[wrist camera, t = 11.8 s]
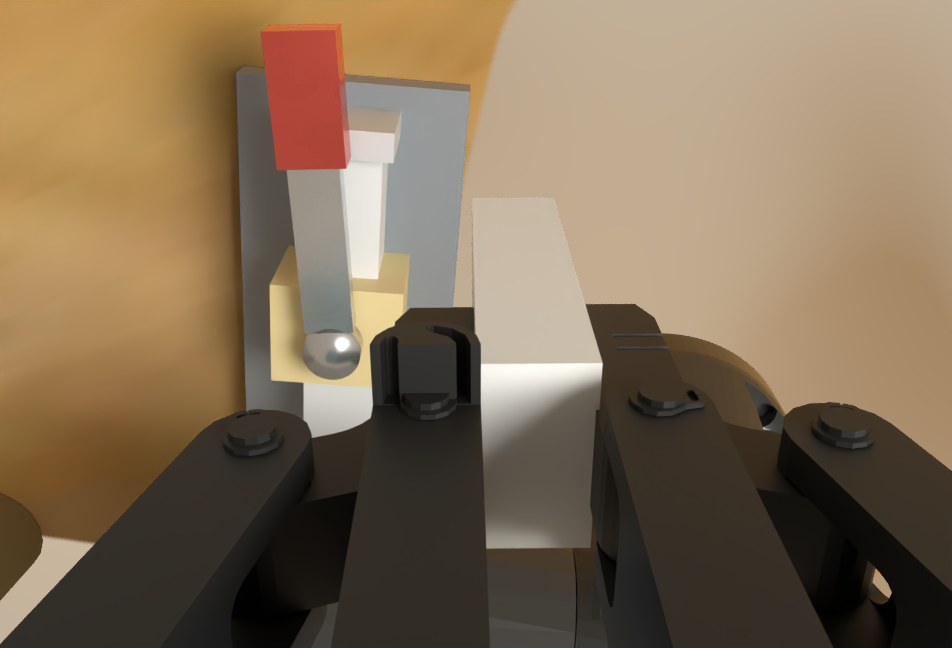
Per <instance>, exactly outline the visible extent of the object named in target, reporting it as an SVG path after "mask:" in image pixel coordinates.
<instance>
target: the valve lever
mask: <svg viewBox="0 0 952 648" xmlns="http://www.w3.org/2000/svg"><path fill="white" fill-rule="evenodd" d="M261 37H262V46H263V54H264V63H265V72H266V80H267V89H268V98H269V106H270V115H271V123H272V132H273V141H274V149H275V158H276V167H277V170H287V178H288V187H289V196H290V205H291V214H292V223H293V232H294V241H295V250H296V259H297V268H298V277H299V286H300V295H301V304H302V313H303V322H304V331H305V334H307V337H306V340H305V342H304V345H303V349H302V356H303V360H304V363H305V365H306V366H307V368H308V369H309V370H310V371H311V372H312V373H313V374H315V375H317V376H318V377H321V378H324V379H328V380H338V379H342V378H345V377H347V376H349V375H350V374H352V373H353V372H354V371H355V370H356V368H357V366H358V364H359V361H360V357H361V352H362V348H363V338H362V335H361V332H360V331H359V329H358V328H357V327H356V325H355V324H356V315H355V303H354V291H353V279H352V267H351V255H350V243H349V231H348V219H347V207H346V195H345V183H344V171H343V169H346V168H347V166H348V164H349V161H350V159H351V149H350V136H349V123H348V111H347V98H346V85H345V72H344V60H343V47H342V34H341V24H298V25H269V26H268V27H266V28H265V29H264V30H262V31H261Z"/></svg>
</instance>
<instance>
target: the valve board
mask: <svg viewBox="0 0 952 648" xmlns="http://www.w3.org/2000/svg"><path fill="white" fill-rule="evenodd" d="M345 85H346V98H347V111H348V123H349V136H350V149H351V159H350V161H349V164H348V166H347V168H346V169H343V171H344V183H345V195H346V207H347V219H348V231H349V243H350V255H351V267H352V279H353V291H354V303H355V315H356V324H355V325H356V327H357V328H358V329H359V331H360V332H361V335H362V338H363V348H362V352H361V357H360V361H359V364H358V366H357V368H356V370H355V371H354V372H353V373H352V374H350V375H349V376H347V377H345V378H342V379H338V380H328V379H324V378H321V377H318V376H317V375H315V374H313V373H312V372H311V371H310V370H309V369H308V368H307V366H306V365H305V363H304V360H303V356H302V349H303V345H304V342H305V340H306V337H307V334H305V331H304V322H303V313H302V304H301V295H300V286H299V277H298V268H297V259H296V250H295V241H294V232H293V223H292V214H291V205H290V196H289V187H288V178H287V170H277V167H276V158H275V149H274V141H273V132H272V123H271V115H270V106H269V98H268V89H267V80H266V72H265V68H261V67H249V66H243V67H242V68H241V69H240V70H238V71H237V72H236V86H237V120H238V153H239V187H240V220H241V254H242V287H243V321H244V354H245V388H246V411H249V410H254V409H262V410H279V411H283V412H287V413H291V414H295V415H296V416H298V417H299V418H301V419H302V420H304V421H305V422H307V424H308V426H309V429H310V431H311V434H312V438H314V437H319V436H324V435H329V434H334V433H337V432H341V431H345V430H348V429H351V428H353V427H355V426H358V425H360V424H362V423H363V422H365V421H366V420H368V419H370V418H371V413H372V407H373V399H372V381H371V363H370V343H371V342H372V340H373V339H374V337H375V335H377V334H379V333H381V332H382V331H384V330H386V329H387V328H390V327H393V326H394V325H395V321H396V320H398V319H399V318H400V317H401V316H402V315H403V314H404V313H405V312H406V311H408V310H409V309H410V308H452V307H453V298H454V286H455V274H456V261H457V249H458V236H459V224H460V211H461V199H462V187H463V174H464V162H465V149H466V137H467V124H468V112H469V100H470V85H465V84H453V83H441V82H429V81H417V80H405V79H393V78H381V77H369V76H357V75H345Z"/></svg>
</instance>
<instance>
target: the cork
mask: <svg viewBox="0 0 952 648" xmlns="http://www.w3.org/2000/svg"><path fill="white" fill-rule="evenodd" d="M42 542H43V539H42V534H41V530H40V527H39V525H38V523H37V522H36V520H35V519H34V517H33V516H32V514H31V513H30V512H29V511H27V510H26V509H25V508H24V507H23V506H22V505H21V504H20V503H18V502H16V501H14V500H13V499H11V498H9V497H7V496H5V495H3V494H0V600H1V599H2V598H3V597H4V596H5V595H6V593H7V592H8V591H9V590H10V589H11V588H12V587H13V586H14V584H15V583H16V582H17V581H18V580H19V579H20V578H21V577H22V576H23V574H24V573H25V572H26V571H27V570H28V569H29V568H30V567H31V565H32V564H33V563H34V562H35V560H36V559H37V558H38V556H39V555H40V553H41V548H42Z"/></svg>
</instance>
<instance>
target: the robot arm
mask: <svg viewBox="0 0 952 648" xmlns="http://www.w3.org/2000/svg"><path fill="white" fill-rule="evenodd" d="M370 363H371V381H372V399H373V407H372V413H371V418H370V419H368V420H366V421H365V422H363V423H362V424H360V425H358V426H355V427H353V428H351V429H348V430H345V431H341V432H337V433H334V434H329V435H324V436H319V437H314V438H312V434H311V431H310V429H309V426H308V424H307V422H305V421H304V420H302V419H301V418H299V417H298V416H296V415H295V414H291V413H287V412H283V411H279V410H262V409H254V410H249V411H241V412H237V413H234V414H232V415H230V416H227V417H225V418H222V419H220V420H217V421H215V422H214V423H212V424H211V425H209V426H208V427H207V428H205V429H204V430H203V431H201V432H200V433H199V434H198V435H197V436H196V438H195V439H194V440H193V441H192V442H191V443H190V444H189V445H188V446H187V447H186V448H185V449H184V450H183V451H182V452H181V453H180V454H179V456H178V457H177V458H176V459H175V460H174V461H173V462H172V463H171V464H170V465H169V466H168V467H167V468H166V469H165V470H164V471H163V472H162V474H161V475H160V476H159V477H158V478H157V479H156V480H155V481H154V482H153V483H152V484H151V485H150V486H149V487H148V488H147V489H146V490H145V491H144V493H143V494H142V495H141V496H140V497H139V498H138V499H137V500H136V501H135V502H134V503H133V504H132V505H131V506H130V507H129V508H128V509H127V511H126V512H125V513H124V514H123V515H122V516H121V517H120V518H119V519H118V520H117V521H116V522H115V523H114V524H113V525H112V526H111V527H110V529H109V530H108V531H107V532H106V533H105V534H104V535H103V536H102V537H101V538H100V539H99V540H98V541H97V542H96V543H95V544H94V545H93V547H92V548H91V549H90V550H89V551H88V552H87V553H86V554H85V555H84V556H83V557H82V558H81V559H80V560H79V561H78V562H77V563H76V565H75V566H74V567H73V568H72V569H71V570H70V571H69V572H68V573H67V574H66V575H65V576H64V578H62V579H61V580H60V581H59V583H58V584H57V585H56V586H55V587H54V588H53V589H52V590H51V591H50V592H49V593H48V594H47V595H46V596H45V597H44V598H43V599H42V601H41V602H40V603H39V604H38V605H37V606H36V607H35V608H34V609H33V610H32V611H31V612H30V613H29V614H28V615H27V616H26V617H25V618H24V620H23V621H22V622H21V623H20V624H19V625H18V626H17V627H16V628H15V629H14V630H13V631H12V632H11V633H10V635H8V637H7V638H6V639H5V640H4V641H3V642H2V643H1V644H0V648H952V471H951V470H950V469H948V468H947V467H946V466H945V465H943V464H942V463H941V462H939V461H938V460H937V459H936V458H934V457H933V456H932V455H931V454H929V453H928V452H927V451H926V450H924V449H923V448H922V447H920V446H919V445H918V444H917V443H915V442H914V441H913V440H912V439H910V438H909V437H908V436H906V435H905V434H904V433H903V432H901V431H900V430H899V429H898V428H896V427H895V426H894V425H892V424H891V423H889V422H888V421H886V420H884V419H882V418H881V417H879V416H877V415H876V414H873V413H871V412H868V411H865V410H861V409H859V408H857V407H856V406H853V405H848V404H843V405H840V403H832V402H827V403H812V404H807V405H804V406H800V407H796V408H793V409H792V410H791V411H790V412H789V413H788V414H787V415H786V414H785V412H784V411H783V409H782V407H781V405H780V403H779V402H778V400H777V398H776V397H775V395H774V393H773V392H772V390H771V389H770V387H769V386H768V384H767V383H766V381H765V380H764V379H763V378H762V377H761V375H760V374H759V373H758V372H757V371H756V370H755V369H754V368H753V367H751V366H750V365H749V364H748V363H747V362H746V361H744V360H743V359H741V358H740V357H739V356H737V355H735V354H734V353H732V352H730V351H729V350H726V349H725V348H722V347H721V346H718V345H716V344H713V343H710V342H708V341H705V340H702V339H697V338H694V337H689V336H683V335H676V334H662V333H661V331H660V329H659V327H658V325H657V322H656V320H655V318H654V317H653V316H651V315H650V314H648V313H647V312H645V311H644V310H643V309H641V308H640V307H638V306H637V305H636V304H585V303H584V298H583V295H582V292H581V288H580V285H579V282H578V278H577V275H576V271H575V268H574V265H573V261H572V258H571V255H570V251H569V248H568V245H567V241H566V238H565V235H564V231H563V228H562V224H561V221H560V217H559V214H558V211H557V207H556V204H555V200H554V198H472V307H463V308H462V307H461V308H460V307H452V308H410V309H409V310H408V311H406V312H405V313H404V314H403V315H402V316H401V317H400V318H399V319H398V320H396V321H395V325H394V326H393V327H390V328H387V329H386V330H384V331H382V332H381V333H379V334H377V335H375V337H374V339H373V340H372V342H371V343H370ZM875 568H876V569H877V570H878V571H879V572H880V573H881V575H882V576H883V577H884V579H885V580H886V581H887V583H888V585H889V587H890V589H891V591H892V594H891V596H890V598H888V597H886V596H885V595H884V594H883V593H882V592H881V591H880V590H879V589H878V588H877V587H876V586H875V585H874V584H873V583H872V581H873V577H874V573H875Z"/></svg>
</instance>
